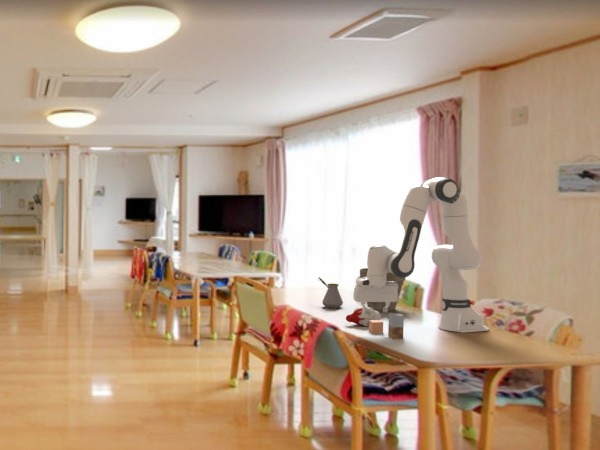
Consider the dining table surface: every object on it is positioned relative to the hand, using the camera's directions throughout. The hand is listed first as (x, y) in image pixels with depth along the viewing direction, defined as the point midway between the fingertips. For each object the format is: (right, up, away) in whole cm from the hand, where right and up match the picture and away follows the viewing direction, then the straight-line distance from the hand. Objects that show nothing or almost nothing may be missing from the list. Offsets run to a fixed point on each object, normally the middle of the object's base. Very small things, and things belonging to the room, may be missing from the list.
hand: (375, 311), depth 279 cm
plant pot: (+11, -7, +60) cm, 61 cm away
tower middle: (+8, -5, -10) cm, 14 cm away
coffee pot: (-18, -7, +68) cm, 71 cm away
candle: (-4, -9, +15) cm, 18 cm away
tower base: (+8, -10, -10) cm, 16 cm away
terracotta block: (0, -9, +1) cm, 9 cm away
